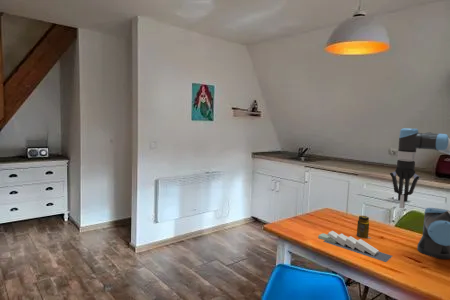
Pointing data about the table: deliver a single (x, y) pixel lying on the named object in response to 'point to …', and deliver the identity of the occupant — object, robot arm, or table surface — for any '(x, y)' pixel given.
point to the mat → (378, 256)
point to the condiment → (363, 227)
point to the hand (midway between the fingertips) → (401, 207)
